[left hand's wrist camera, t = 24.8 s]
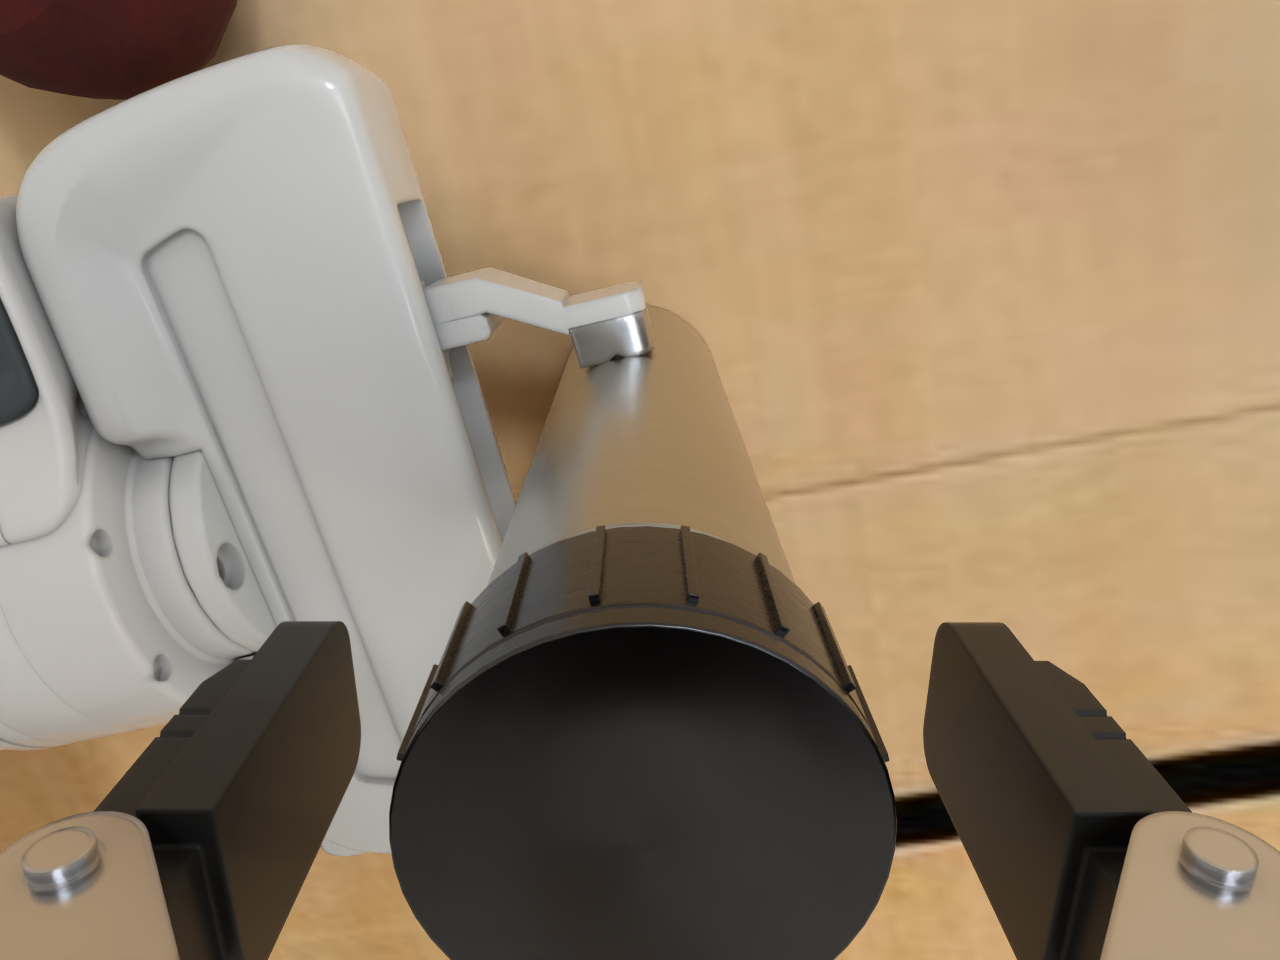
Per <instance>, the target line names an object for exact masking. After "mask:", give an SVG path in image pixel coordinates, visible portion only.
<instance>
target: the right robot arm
mask: <svg viewBox="0 0 1280 960" xmlns="http://www.w3.org/2000/svg"><path fill="white" fill-rule="evenodd" d="M504 317H505V318H509V319H512V320H516V321H519V322H523V323H527V324H530V325H534V326H537V327H541V328H545V329H548V330H552V331H555V332H559V333H563V334H566V335H570V333H571V337H572V340H573V344H574V347H575V351H576V354H577V358H578V361H579V365H580V368H586V367H590V366H595V365H599V364H602V363H605V362H608V361H610V360H611V359H612V358H613V356H614V355H615V354H618V355H621V356H623V357H634V356H638V355H641V354H645V353H648V352H649V351H651V350H653V349H654V347H655V345H654V337H653V333H652V328H651V323H650V318H649V314H648V309H647V304H646V300H645V296H644V291H643V287H642V283H641V281H634V282H626V283H622V284H617V285H613V286H609V287H605V288H600V289H596V290H592V291H588V292H583V293H579V294H575V295H571V296H569V293H568V291H567V290H564V289H560V288H557V287H554V286H551V285H547V284H544V283H541V282H538V281H535V280H531V279H528V278H525V277H522V276H518V275H515V274H512V273H509V272H506V271H502V270H499V269H496V268H493V267H487V268H483V269H479V270H475V271H471V272H467V273H462V274H458V275H454V276H450V277H447V274H446V271H445V267H444V264H443V261H442V257H441V254H440V251H439V248H438V244H437V241H436V238H435V234H434V231H433V228H432V224H431V221H430V218H429V215H428V211H427V208H426V205H425V201H424V198H423V195H422V191H421V188H420V185H419V182H418V178H417V175H416V172H415V168H414V165H413V162H412V159H411V155H410V152H409V149H408V145H407V142H406V139H405V135H404V132H403V129H402V125H401V122H400V119H399V115H398V112H397V109H396V105H395V102H394V99H393V96H392V93H391V91H390V89H389V87H388V85H387V84H386V83H385V82H384V80H383V79H382V78H380V77H379V76H377V75H376V74H374V73H372V72H371V71H369V70H368V69H366V68H364V67H363V66H361V65H359V64H358V63H356V62H354V61H353V60H351V59H349V58H347V57H345V56H343V55H341V54H338V53H336V52H334V51H331V50H329V49H326V48H322V47H318V46H312V45H304V44H293V45H284V46H278V47H273V48H269V49H265V50H261V51H257V52H254V53H250V54H246V55H243V56H240V57H237V58H234V59H231V60H228V61H225V62H222V63H219V64H216V65H213V66H210V67H207V68H204V69H202V70H199V71H196V72H193V73H191V74H188V75H185V76H183V77H180V78H177V79H174V80H172V81H170V82H167V83H165V84H162V85H160V86H158V87H155V88H153V89H150V90H148V91H145V92H143V93H141V94H138V95H136V96H134V97H132V98H130V99H128V100H125V101H123V102H121V103H119V104H117V105H115V106H112V107H110V108H108V109H106V110H104V111H102V112H100V113H98V114H96V115H94V116H92V117H90V118H88V119H86V120H84V121H82V122H80V123H79V124H77V125H75V126H73V127H72V128H70V129H68V130H66V131H65V132H64V133H62V134H61V135H59V136H58V137H57V138H55V139H54V140H53V141H52V142H50V143H49V144H48V145H47V146H46V147H45V148H44V149H43V150H42V151H41V152H40V153H39V154H38V155H37V157H36V158H35V159H34V160H33V162H32V163H31V165H30V166H29V168H28V170H27V171H26V173H25V175H24V178H23V180H22V182H21V185H20V188H19V192H18V194H14V195H5V196H0V750H38V749H46V748H52V747H57V746H63V745H67V744H72V743H77V742H82V741H87V740H91V739H96V738H101V737H106V736H110V735H115V734H120V733H125V732H130V731H135V730H140V729H144V728H151V727H156V726H161V725H166V724H167V723H168V722H169V721H170V720H171V719H172V717H173V716H174V715H179V709H180V708H181V707H182V705H183V704H184V703H185V702H186V701H187V699H188V698H189V697H190V696H191V695H192V694H193V692H194V691H195V690H196V689H197V688H198V686H199V685H200V684H201V683H202V682H203V681H205V680H206V679H208V678H209V677H211V676H213V675H214V674H216V673H217V672H219V671H220V670H222V669H223V668H225V667H226V666H228V665H230V664H231V663H233V662H234V661H236V660H251V659H252V658H253V657H254V655H255V654H256V653H257V651H258V650H259V649H260V648H261V646H262V645H263V644H264V642H265V641H266V640H267V639H268V637H269V636H270V635H271V633H272V632H273V631H274V630H275V628H276V627H277V626H278V625H279V624H280V623H281V622H284V621H341V622H343V623H344V624H345V625H346V627H347V630H348V633H349V637H350V643H351V651H352V659H353V667H354V674H355V682H356V690H357V698H358V705H359V713H360V721H361V745H360V753H359V758H358V763H357V766H356V770H355V772H354V775H353V777H352V779H351V781H350V784H349V786H348V788H347V790H346V792H345V794H344V796H343V799H342V801H341V803H340V805H339V807H338V809H337V812H336V814H335V816H334V818H333V820H332V822H331V824H330V827H329V829H328V831H327V833H326V835H325V837H324V840H323V842H322V844H321V846H320V847H322V848H323V850H324V851H325V852H326V853H328V854H330V855H336V856H353V855H359V854H364V853H386V854H392V853H391V847H390V841H389V810H390V804H391V797H392V791H393V785H394V782H395V779H396V776H397V773H398V770H399V767H400V764H401V761H398V760H397V759H396V758H397V754H398V751H399V748H400V746H401V744H402V741H403V739H404V736H405V734H406V731H407V729H408V726H409V724H410V721H411V719H412V716H413V714H414V712H415V709H416V707H417V704H418V702H419V699H420V697H421V694H422V692H423V689H424V687H425V685H426V682H427V680H428V677H429V675H430V672H431V670H432V667H433V665H434V664H435V665H439V663H440V660H441V658H442V655H443V653H444V650H445V648H446V645H447V643H448V640H449V638H450V635H451V633H452V630H453V628H454V625H455V623H456V620H457V617H458V615H459V612H460V610H461V607H462V606H463V604H464V603H465V602H466V601H467V602H469V603H470V604H472V602H473V601H474V600H475V599H476V598H477V597H478V596H479V595H480V593H481V592H482V591H483V590H484V589H485V588H486V587H487V585H488V582H489V580H490V577H491V574H492V571H493V568H494V566H495V563H496V560H497V557H498V554H499V551H500V549H501V546H502V543H503V540H504V537H505V535H506V532H507V529H508V526H509V523H510V521H511V518H512V515H513V512H514V509H515V507H516V502H515V498H514V495H513V492H512V488H511V485H510V482H509V479H508V475H507V472H506V469H505V465H504V462H503V459H502V455H501V452H500V449H499V446H498V442H497V439H496V436H495V432H494V429H493V426H492V422H491V419H490V416H489V413H488V409H487V406H486V403H485V399H484V396H483V393H482V389H481V386H480V383H479V380H478V376H477V373H476V370H475V366H474V363H473V360H472V356H471V353H470V350H469V347H468V344H471V343H475V342H479V341H483V340H487V339H488V338H489V337H490V336H491V335H492V333H493V332H494V331H495V330H496V328H497V327H498V326H499V325H500V324H501V322H502V321H503V319H504Z"/></svg>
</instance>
